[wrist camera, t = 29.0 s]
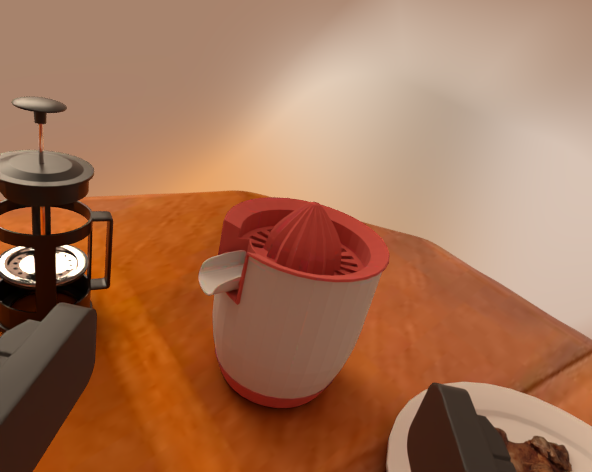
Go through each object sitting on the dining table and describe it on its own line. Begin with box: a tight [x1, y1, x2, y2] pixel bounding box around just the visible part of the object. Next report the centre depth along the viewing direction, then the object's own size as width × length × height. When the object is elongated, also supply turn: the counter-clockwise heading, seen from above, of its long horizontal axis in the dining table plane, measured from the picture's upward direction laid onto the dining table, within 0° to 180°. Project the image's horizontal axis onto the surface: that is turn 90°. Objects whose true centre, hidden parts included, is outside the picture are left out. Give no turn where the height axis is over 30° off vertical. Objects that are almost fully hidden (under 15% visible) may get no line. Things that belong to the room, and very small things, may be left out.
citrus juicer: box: [199, 198, 389, 408], centre depth 45 cm, size 16×17×20 cm
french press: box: [0, 97, 113, 333], centre depth 45 cm, size 12×9×23 cm
